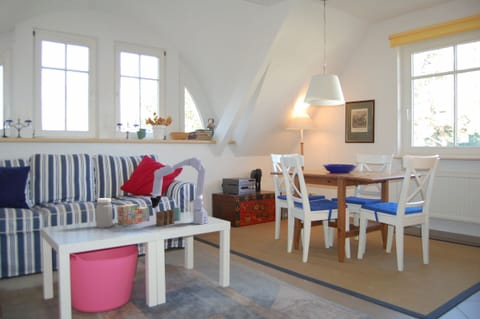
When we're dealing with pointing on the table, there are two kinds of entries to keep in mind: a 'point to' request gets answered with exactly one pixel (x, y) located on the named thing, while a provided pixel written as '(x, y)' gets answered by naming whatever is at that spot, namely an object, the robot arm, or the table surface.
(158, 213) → the domino
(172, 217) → the domino
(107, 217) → the jar
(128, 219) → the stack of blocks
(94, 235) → the table surface
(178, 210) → the domino
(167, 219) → the domino
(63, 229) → the table surface
